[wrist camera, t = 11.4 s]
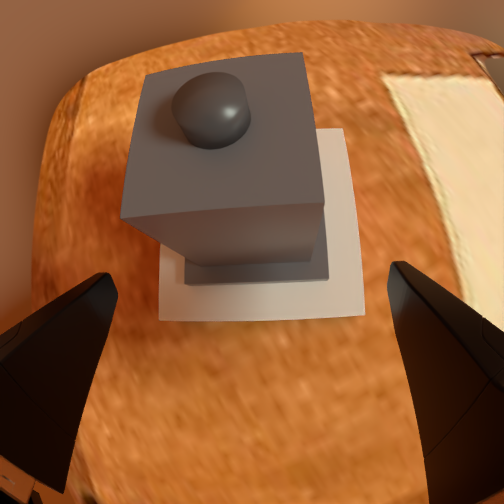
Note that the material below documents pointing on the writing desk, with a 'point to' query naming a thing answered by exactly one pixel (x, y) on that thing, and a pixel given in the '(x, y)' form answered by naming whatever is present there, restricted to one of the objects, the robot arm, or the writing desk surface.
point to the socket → (283, 294)
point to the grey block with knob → (230, 171)
